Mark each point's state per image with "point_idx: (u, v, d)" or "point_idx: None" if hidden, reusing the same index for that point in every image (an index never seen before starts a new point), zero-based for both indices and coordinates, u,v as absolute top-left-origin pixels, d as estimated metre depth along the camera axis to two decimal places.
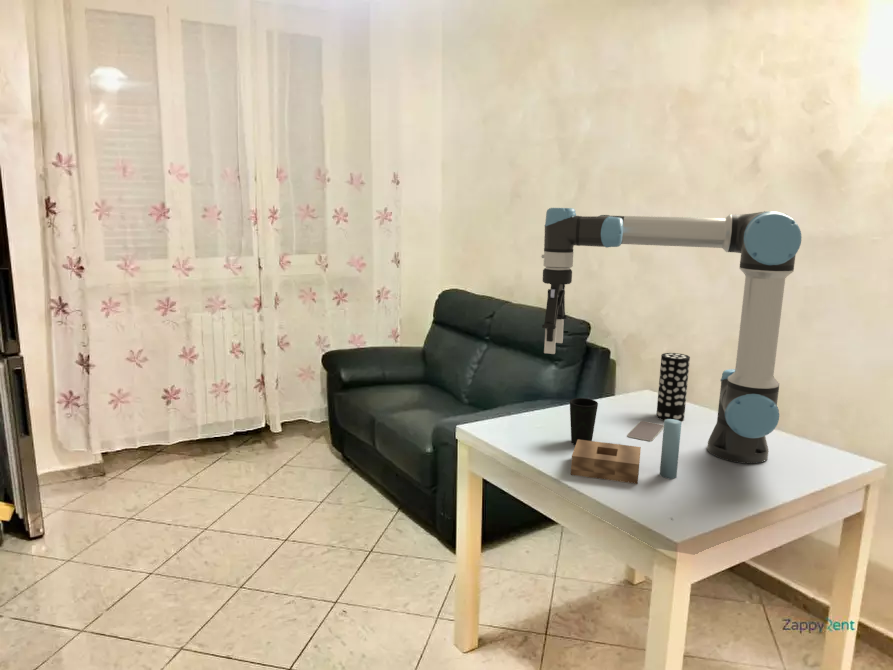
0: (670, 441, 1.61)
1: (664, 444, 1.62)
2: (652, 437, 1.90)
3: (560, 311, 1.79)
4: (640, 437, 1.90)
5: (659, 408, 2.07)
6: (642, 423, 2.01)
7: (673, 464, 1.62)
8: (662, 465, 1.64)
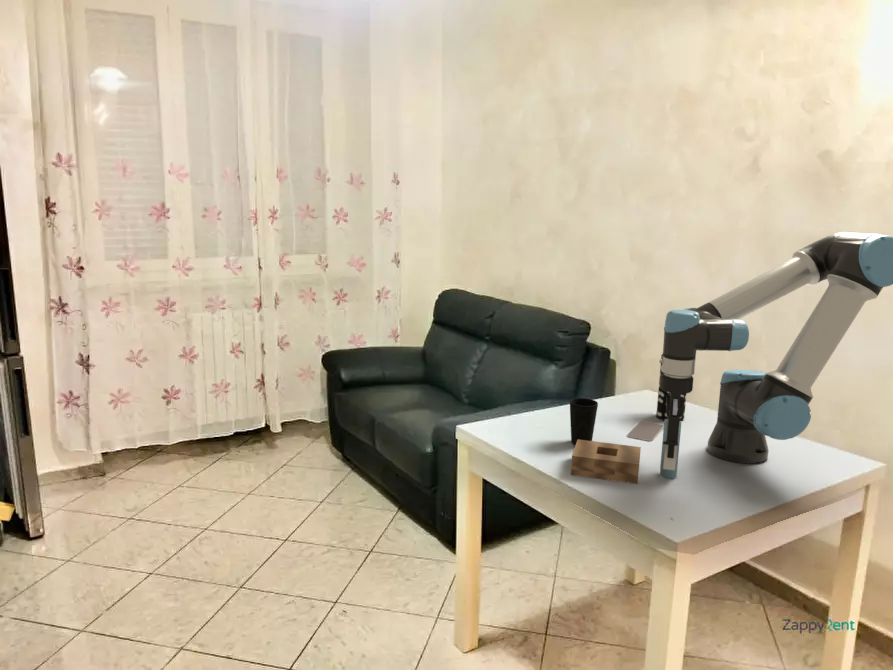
0: None
1: (664, 444, 1.62)
2: (652, 437, 1.90)
3: None
4: (640, 437, 1.90)
5: (659, 408, 2.07)
6: (642, 423, 2.01)
7: None
8: (662, 465, 1.64)
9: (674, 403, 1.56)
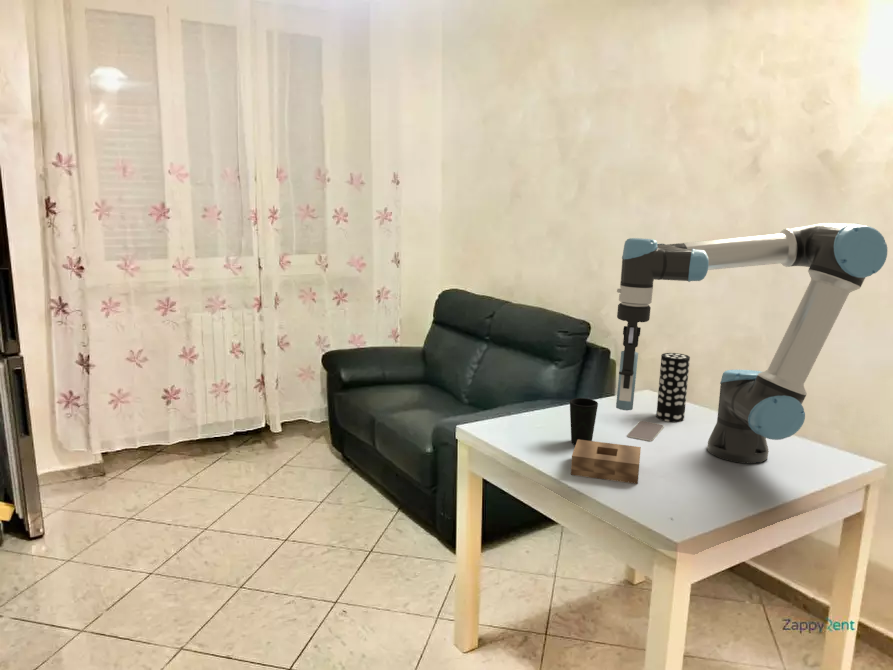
0: None
1: None
2: (652, 437, 1.90)
3: None
4: (640, 437, 1.90)
5: (659, 408, 2.07)
6: (642, 423, 2.01)
7: None
8: (618, 397, 1.62)
9: (630, 331, 1.55)
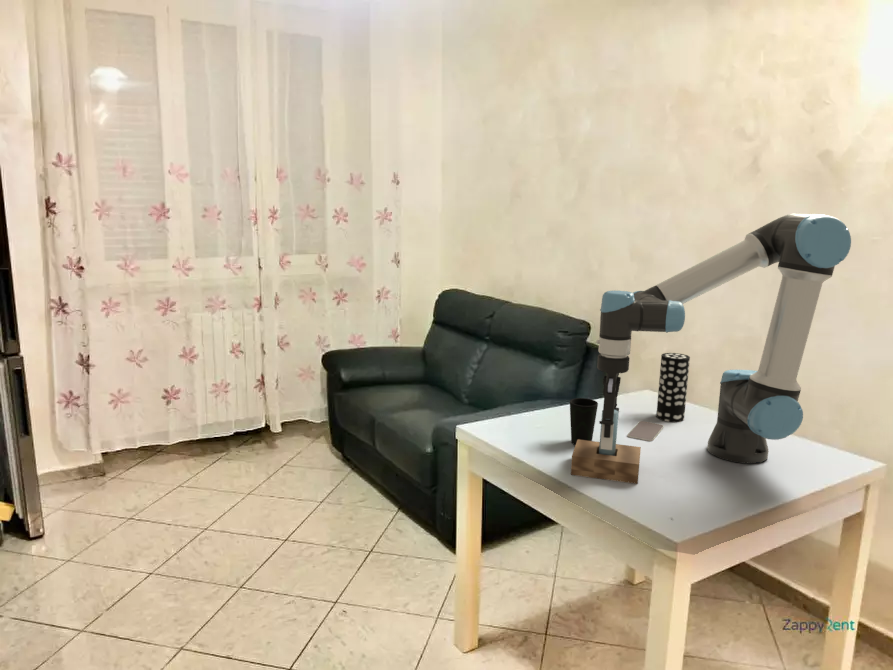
0: None
1: None
2: (652, 437, 1.90)
3: None
4: (640, 437, 1.90)
5: (659, 408, 2.07)
6: (642, 423, 2.01)
7: (610, 453, 1.64)
8: None
9: (609, 381, 1.58)
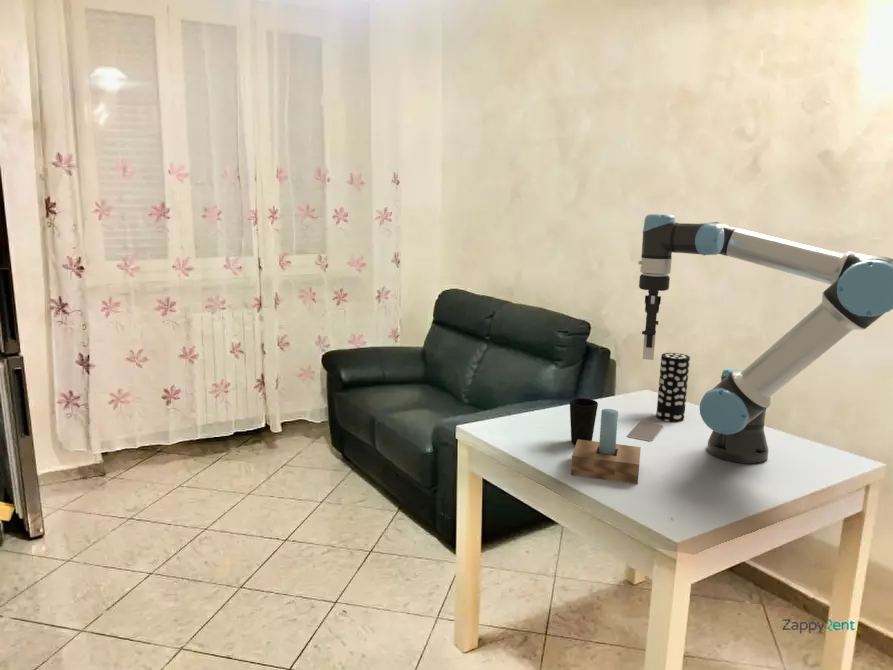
0: (606, 430, 1.63)
1: (602, 433, 1.64)
2: (652, 437, 1.90)
3: None
4: (640, 437, 1.90)
5: (659, 408, 2.07)
6: (642, 423, 2.01)
7: (610, 453, 1.64)
8: None
9: (652, 296, 1.70)
